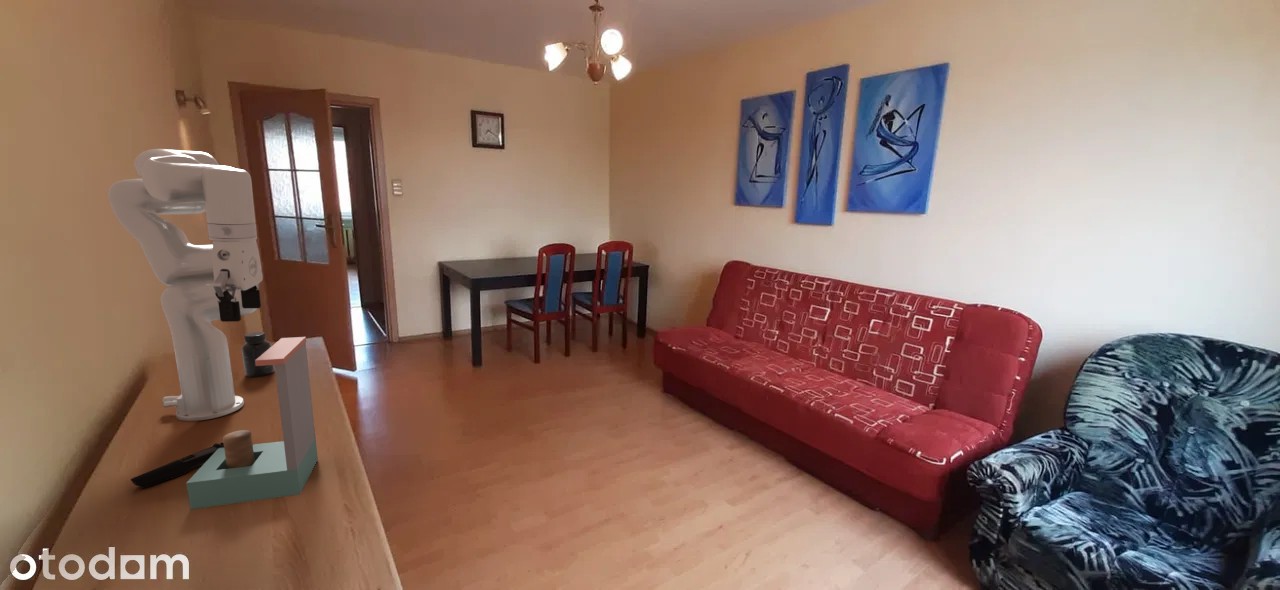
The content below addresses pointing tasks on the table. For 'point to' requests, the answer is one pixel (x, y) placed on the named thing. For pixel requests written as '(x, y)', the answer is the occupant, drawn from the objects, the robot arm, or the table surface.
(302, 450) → the socket stand
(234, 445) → the walnut peg
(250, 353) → the supplement bottle
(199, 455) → the electric trimmer
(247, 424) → the table surface
